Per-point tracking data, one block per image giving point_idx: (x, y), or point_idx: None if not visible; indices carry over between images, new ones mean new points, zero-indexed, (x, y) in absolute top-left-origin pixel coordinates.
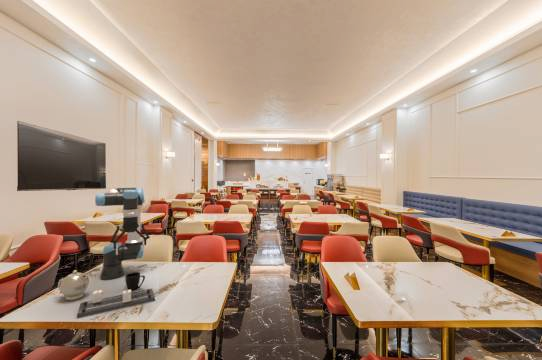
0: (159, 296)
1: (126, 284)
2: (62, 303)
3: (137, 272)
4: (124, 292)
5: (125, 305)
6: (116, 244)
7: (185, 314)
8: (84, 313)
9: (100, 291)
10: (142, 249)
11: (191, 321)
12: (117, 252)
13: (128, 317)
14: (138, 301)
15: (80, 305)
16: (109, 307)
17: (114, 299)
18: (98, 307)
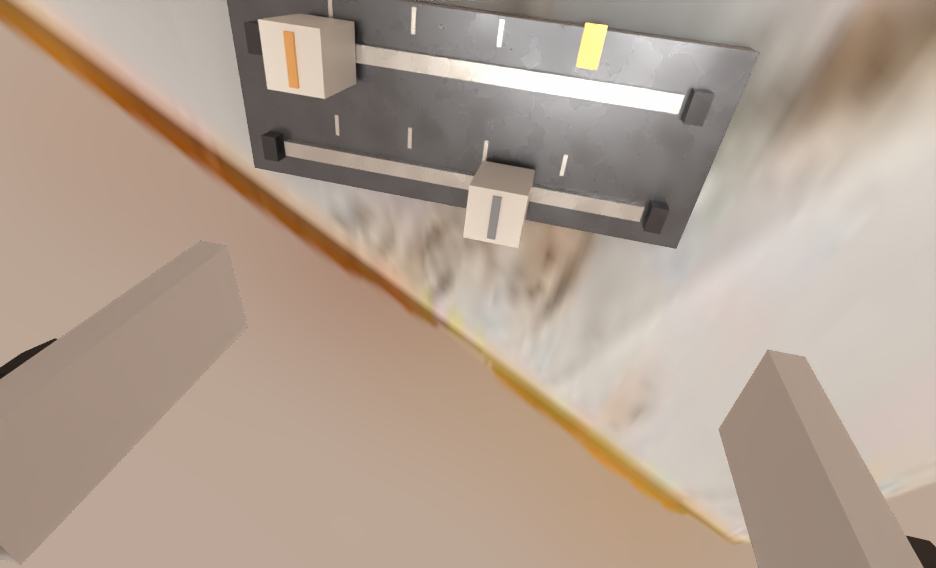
0: (736, 190)
1: None
2: None
3: None
4: (475, 224)
5: None
6: (24, 525)
7: (702, 452)
8: (289, 172)
9: (312, 69)
10: (764, 390)
11: (684, 496)
12: (214, 356)
13: (490, 318)
14: (569, 225)
15: (235, 32)
16: (406, 196)
17: (438, 86)
18: (347, 165)
